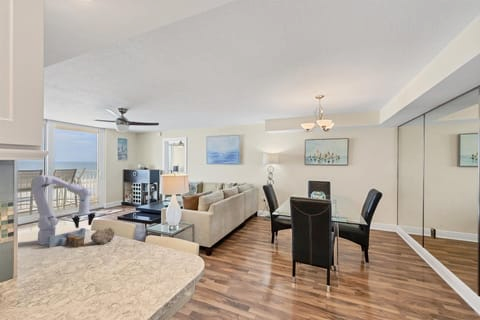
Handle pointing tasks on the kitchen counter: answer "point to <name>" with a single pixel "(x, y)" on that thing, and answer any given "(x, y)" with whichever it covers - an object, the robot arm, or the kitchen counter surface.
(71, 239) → the brown block
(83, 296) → the kitchen counter surface
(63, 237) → the blue-grey stepped platform
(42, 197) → the robot arm
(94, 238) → the coral
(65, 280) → the kitchen counter surface
